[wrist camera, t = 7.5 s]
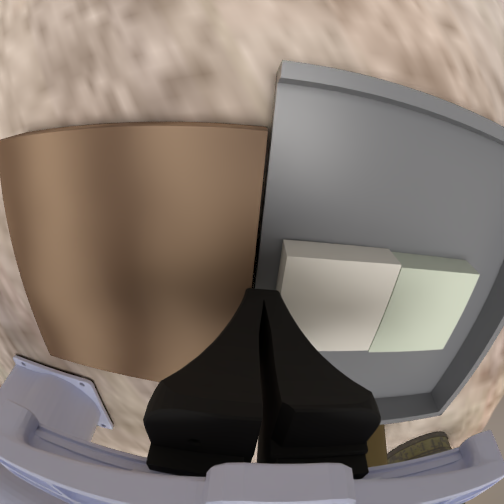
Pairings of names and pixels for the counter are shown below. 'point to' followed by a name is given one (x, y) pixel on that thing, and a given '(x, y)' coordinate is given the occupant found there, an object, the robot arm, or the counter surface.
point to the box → (389, 210)
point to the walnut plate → (134, 236)
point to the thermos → (420, 448)
